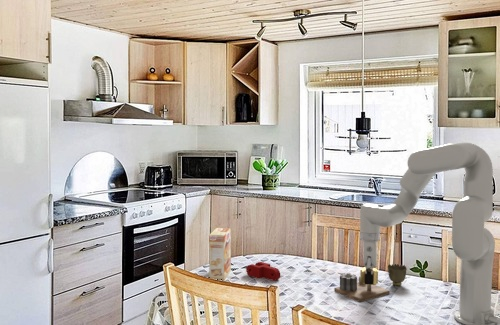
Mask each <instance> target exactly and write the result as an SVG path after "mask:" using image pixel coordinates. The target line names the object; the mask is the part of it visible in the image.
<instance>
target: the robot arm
mask: <svg viewBox="0 0 500 325" xmlns="http://www.w3.org/2000/svg"><path fill="white" fill-rule="evenodd" d="M407 167H408V168H407V170H406V171H405V172H404V174H403V175H402V176H401V178H400V180H399V185H400V188H401V189H400V192H399V193H398V195H397V197H396V198H395V199H394V201H393V202H392V203H391V204H389V205H385V206H382V207H381V206H380V205H379V204H377V203H364V204H362V205H361V206H360V214H359V218H360V219H359V222H360V223H359V240H361V241H362V259H363V260H362V262H363V266H364V268H365V284H370V285H373V268H377V266H378V242H379V241H381V227H382V228H389V227H393V226H395V225H398V224H400V223H402V222H403V221H405V220H406V219H407V218H408V216H409V215H410V214H411V212H412V211H413V209H415V207H416V206H417V203H418V201H419V199H420V197H421V194H422V192H423V191H424V190H425V188H426V186H427V185H428V184H429V183H430V181H431V180H432V179H433V178H434V176H435V175H436V174H437V173H442V172H448V171H455V170H460V169H464V170H465V175H464V181H463V198H461V199H460V200H458V201H457V202H456V203H455V205H454V207H453V210H452V215H451V216H452V220H451V222H452V225H451V247H452V250H453V253H454V254H455V256H456V257H457V258H458V259H460V274H459V275H460V276H459V277H460V278H459V304H458V305H459V309H458V310H457V311H455V312H454V313H453V317H454V319H455V320H456V321H457V322H458V323H460V324H463V325H500V316H498V315H496V314H495V309H492V284H493V282H492V281H493V280H492V279H493V278H492V277H493V265H494V264H493V263H494V256H495V249H496V242H495V237H494V235H493V234H492V232H491V231H490V230H489V229H487V228H486V227H485V223H486V222H488V221H489V220H490V219H491V218H492V216H493V212H494V211H493V208H494V207H493V205H494V204H493V201H494V200H493V198H494V196H493V194H494V189H493V188H494V186H493V182H494V180H493V179H494V178H493V177H494V172H493V169H494V167H493V162H492V159H491V158H490V155H489V154H488V153H487V152H486V151H485V150H484V149H483V147H480V146H478V145H477V144H475V143H471V142H462V141H461V142H456V143H455V142H453V143H447V144H444V145H439V146H434V147H428V148H423V149H417V150H414V151H413V152H412V153H411V154H409V157H408V159H407Z"/></svg>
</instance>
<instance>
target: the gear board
mask: <svg viewBox="0 0 500 325" xmlns="http://www.w3.org/2000/svg"><path fill="white" fill-rule="evenodd" d="M333 290H334V292H335V293H338V294H341V295H343V296H345V297H348V298H350V299H353V300H355V301H357V302H360V303H361V302H365V301H367V300H371V299H375V298H378V297H382V296H383V297H384V296H386V295H390V293H391V290H389V289H387V288H384V287H381V286H378V285H377V284H376V285H367V284H362V283H361V282H360V276H359V277H358V276H357V275H356V274H353V273H352V274H351V273H350V272H346V273H342V274H340V275H339V286H337V287H334V288H333Z"/></svg>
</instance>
